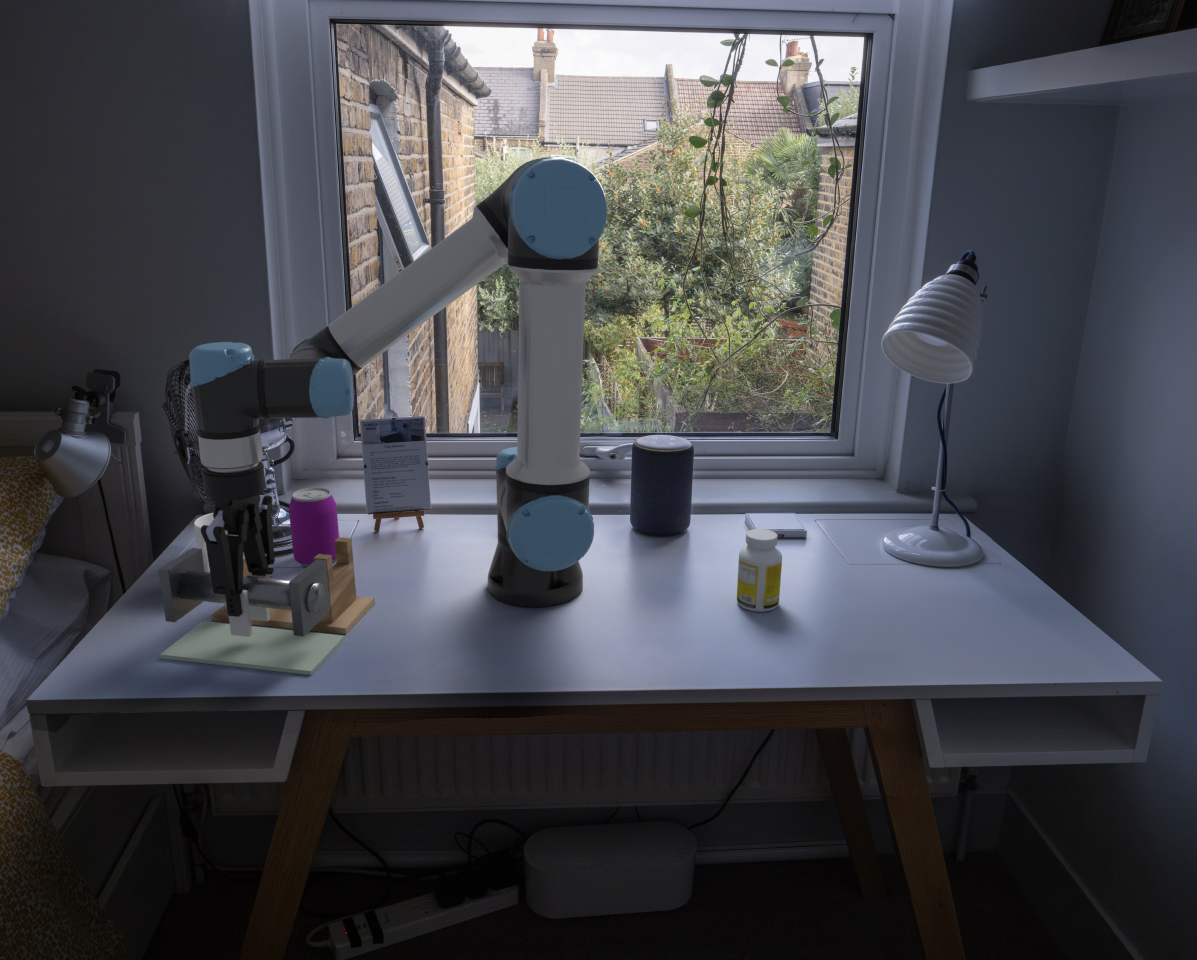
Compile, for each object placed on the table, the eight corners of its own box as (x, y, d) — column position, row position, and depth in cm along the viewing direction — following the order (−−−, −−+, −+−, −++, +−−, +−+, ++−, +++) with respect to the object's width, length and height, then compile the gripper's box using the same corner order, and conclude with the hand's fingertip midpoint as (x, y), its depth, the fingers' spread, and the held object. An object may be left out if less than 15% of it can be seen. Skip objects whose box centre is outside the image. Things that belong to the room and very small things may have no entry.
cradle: (375, 604, 142) (370, 537, 138) (346, 634, 132) (340, 563, 129) (249, 591, 145) (241, 526, 142) (212, 620, 136) (203, 551, 133)
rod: (333, 611, 128) (329, 560, 126) (307, 636, 121) (302, 583, 119) (195, 597, 132) (189, 547, 130) (162, 620, 125) (154, 569, 122)
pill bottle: (783, 600, 144) (788, 530, 141) (772, 617, 139) (778, 545, 135) (742, 592, 147) (747, 523, 143) (730, 608, 141) (735, 537, 138)
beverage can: (284, 564, 156) (277, 497, 152) (314, 548, 162) (307, 483, 159) (321, 572, 153) (315, 503, 149) (350, 555, 160) (344, 489, 156)
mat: (344, 639, 131) (344, 635, 131) (311, 675, 122) (311, 671, 121) (203, 624, 135) (203, 621, 135) (160, 658, 125) (159, 654, 125)
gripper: (241, 444, 128) (258, 597, 136) (165, 482, 112) (189, 653, 120) (292, 447, 127) (306, 602, 134) (221, 486, 111) (242, 659, 118)
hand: (250, 626), depth 127 cm, fingers closed on rod, 4 cm apart
